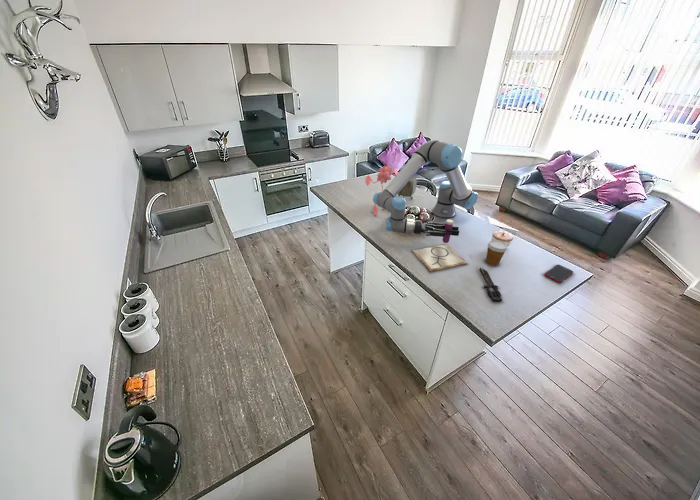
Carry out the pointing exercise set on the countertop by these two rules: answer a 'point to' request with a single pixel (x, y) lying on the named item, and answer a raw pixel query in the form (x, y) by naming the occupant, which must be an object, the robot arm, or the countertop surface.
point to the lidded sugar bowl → (502, 237)
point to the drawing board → (439, 257)
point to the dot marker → (448, 227)
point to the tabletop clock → (409, 188)
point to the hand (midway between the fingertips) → (458, 231)
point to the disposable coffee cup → (495, 252)
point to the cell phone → (558, 273)
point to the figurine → (381, 179)
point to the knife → (491, 286)
